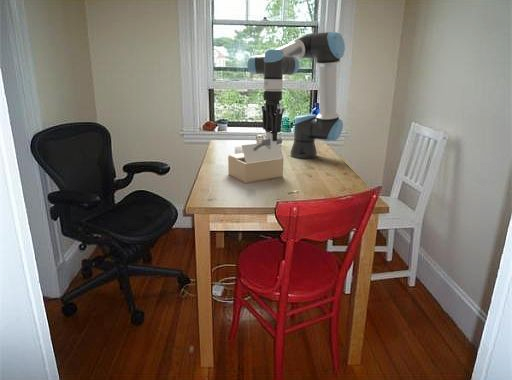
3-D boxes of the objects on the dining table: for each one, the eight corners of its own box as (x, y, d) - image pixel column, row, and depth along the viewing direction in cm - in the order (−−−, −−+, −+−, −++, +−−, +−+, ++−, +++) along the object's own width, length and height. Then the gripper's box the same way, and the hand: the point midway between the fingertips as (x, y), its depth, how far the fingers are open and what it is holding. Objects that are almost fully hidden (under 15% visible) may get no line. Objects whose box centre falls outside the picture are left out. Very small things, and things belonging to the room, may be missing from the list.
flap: (278, 141, 165) (290, 133, 156) (282, 158, 164) (295, 150, 155) (241, 145, 156) (251, 137, 147) (246, 163, 155) (256, 155, 146)
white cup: (236, 169, 178) (236, 150, 175) (233, 165, 185) (233, 146, 182) (252, 168, 180) (252, 149, 177) (248, 165, 187) (248, 146, 184)
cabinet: (264, 168, 180) (264, 150, 177) (282, 177, 167) (283, 157, 164) (228, 174, 170) (228, 154, 167) (245, 183, 157) (245, 162, 154)
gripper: (254, 89, 150) (254, 145, 157) (275, 91, 137) (273, 152, 145) (270, 89, 153) (268, 143, 161) (291, 91, 141) (289, 150, 149)
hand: (271, 147), depth 153 cm, fingers closed on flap, 2 cm apart
